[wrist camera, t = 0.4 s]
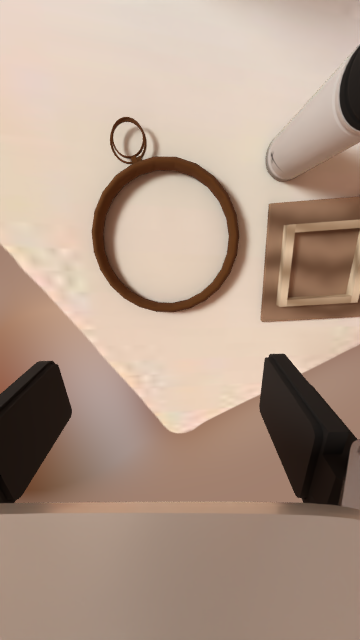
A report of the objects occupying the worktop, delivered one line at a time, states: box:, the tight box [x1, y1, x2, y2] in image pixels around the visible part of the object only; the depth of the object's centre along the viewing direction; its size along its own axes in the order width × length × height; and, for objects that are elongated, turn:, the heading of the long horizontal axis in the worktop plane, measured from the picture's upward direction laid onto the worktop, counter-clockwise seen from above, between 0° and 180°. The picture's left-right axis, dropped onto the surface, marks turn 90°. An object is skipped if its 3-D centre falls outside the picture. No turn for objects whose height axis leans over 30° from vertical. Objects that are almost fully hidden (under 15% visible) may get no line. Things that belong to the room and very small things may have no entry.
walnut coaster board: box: [261, 197, 360, 322], centre depth 37 cm, size 20×18×2 cm
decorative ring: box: [92, 117, 239, 312], centre depth 35 cm, size 24×3×30 cm
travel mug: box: [266, 45, 360, 181], centre depth 23 cm, size 6×7×20 cm
